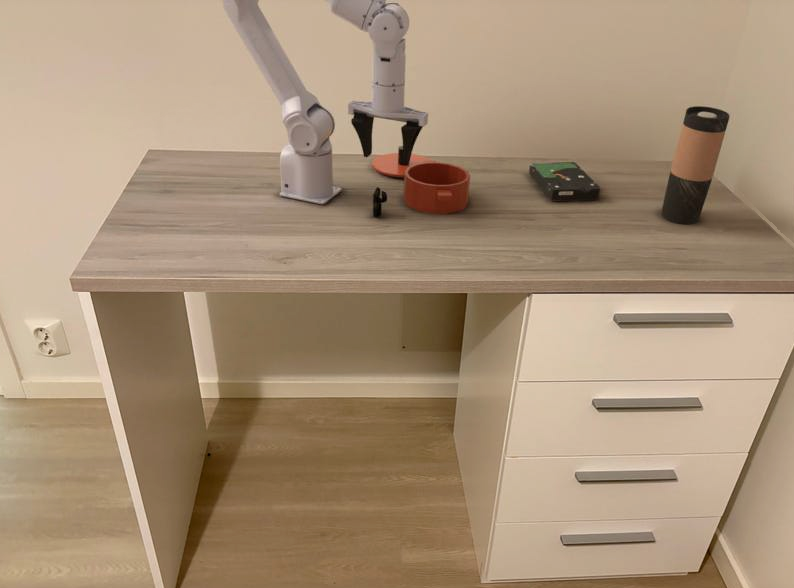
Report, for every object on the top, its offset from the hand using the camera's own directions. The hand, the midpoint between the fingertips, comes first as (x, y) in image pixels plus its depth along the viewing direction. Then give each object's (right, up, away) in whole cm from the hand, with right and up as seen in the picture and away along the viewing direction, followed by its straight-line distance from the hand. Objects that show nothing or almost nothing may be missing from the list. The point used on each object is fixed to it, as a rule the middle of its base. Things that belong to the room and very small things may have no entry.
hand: (386, 158), depth 133 cm
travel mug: (+56, -9, +7) cm, 58 cm away
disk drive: (+35, -1, +17) cm, 39 cm away
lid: (+2, +4, +20) cm, 20 cm away
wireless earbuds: (-1, -10, 0) cm, 10 cm away
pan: (+9, -6, +7) cm, 13 cm away
